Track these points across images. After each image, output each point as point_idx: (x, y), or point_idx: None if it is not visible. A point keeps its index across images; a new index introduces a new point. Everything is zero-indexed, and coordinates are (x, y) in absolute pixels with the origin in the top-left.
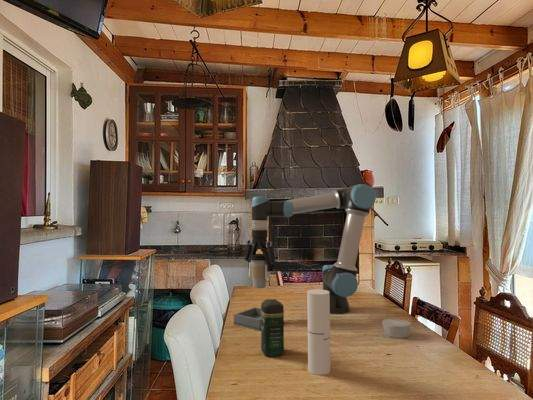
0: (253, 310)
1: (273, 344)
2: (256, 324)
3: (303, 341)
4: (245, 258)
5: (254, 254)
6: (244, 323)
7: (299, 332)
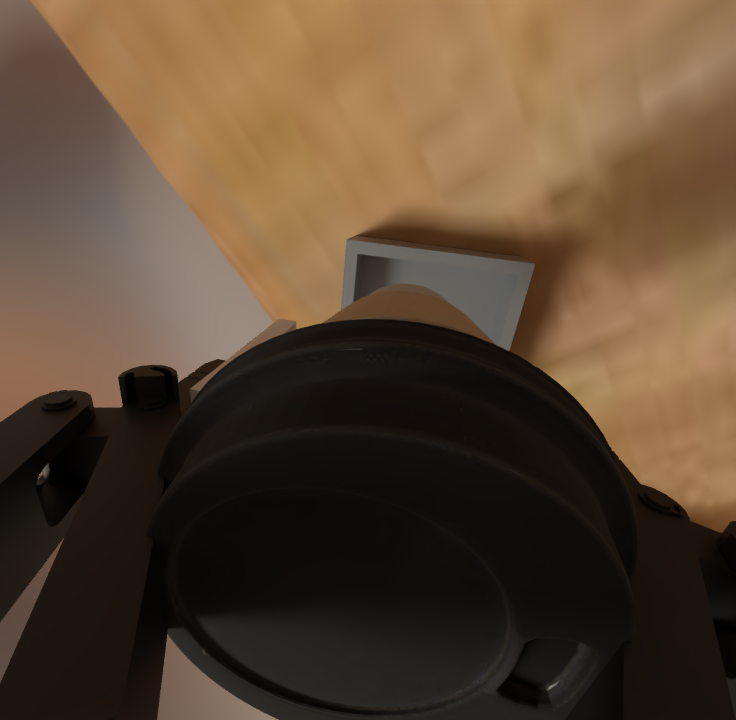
0: (357, 267)
1: None
2: None
3: (697, 432)
4: (63, 489)
5: (174, 573)
6: None
7: (661, 350)
